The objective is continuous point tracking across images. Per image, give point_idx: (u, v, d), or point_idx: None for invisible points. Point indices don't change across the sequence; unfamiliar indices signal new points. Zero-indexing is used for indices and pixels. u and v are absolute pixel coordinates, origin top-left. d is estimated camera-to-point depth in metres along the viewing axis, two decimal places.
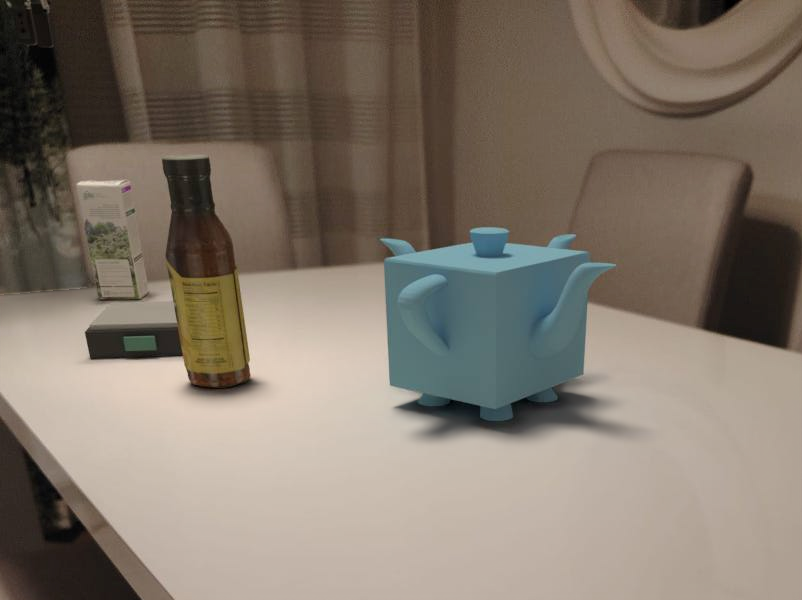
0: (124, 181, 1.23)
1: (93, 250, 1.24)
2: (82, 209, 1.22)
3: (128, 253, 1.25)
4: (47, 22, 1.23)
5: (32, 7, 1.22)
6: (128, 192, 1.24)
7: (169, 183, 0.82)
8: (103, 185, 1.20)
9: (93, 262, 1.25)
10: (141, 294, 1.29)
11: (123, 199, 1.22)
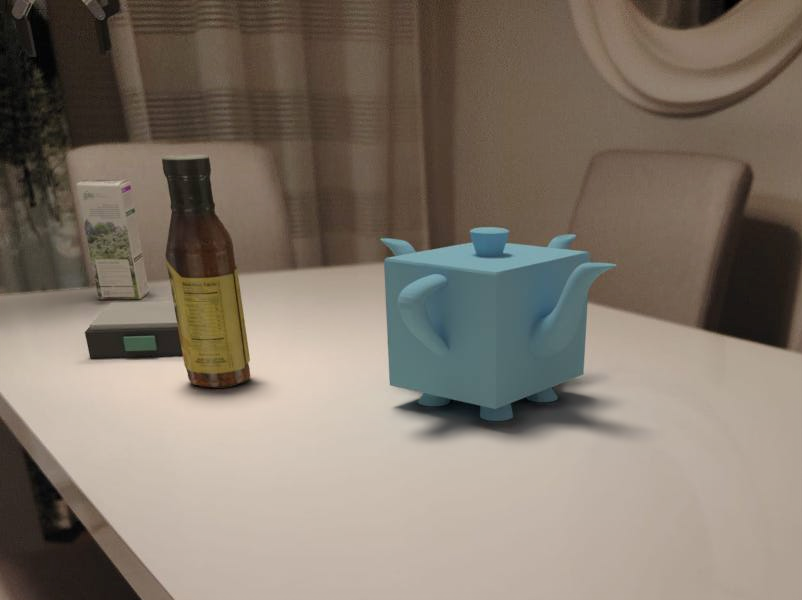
0: (124, 181, 1.23)
1: (93, 250, 1.24)
2: (82, 209, 1.22)
3: (129, 253, 1.25)
4: (96, 30, 1.16)
5: None
6: (128, 192, 1.24)
7: (169, 183, 0.82)
8: (103, 185, 1.20)
9: (93, 262, 1.25)
10: (141, 294, 1.29)
11: (123, 199, 1.22)
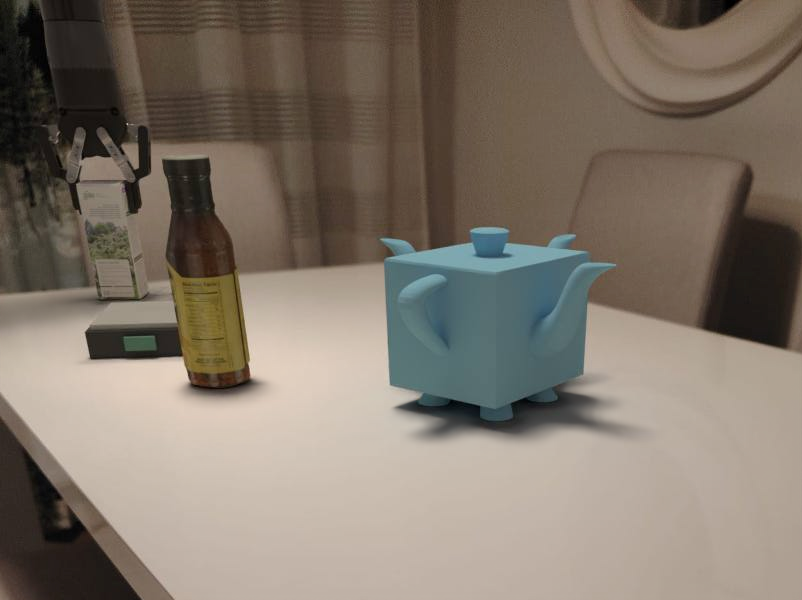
0: (124, 181, 1.23)
1: (93, 250, 1.24)
2: (82, 209, 1.22)
3: (129, 253, 1.25)
4: None
5: None
6: None
7: (169, 183, 0.82)
8: (103, 185, 1.20)
9: (93, 262, 1.25)
10: (141, 294, 1.29)
11: (123, 199, 1.22)
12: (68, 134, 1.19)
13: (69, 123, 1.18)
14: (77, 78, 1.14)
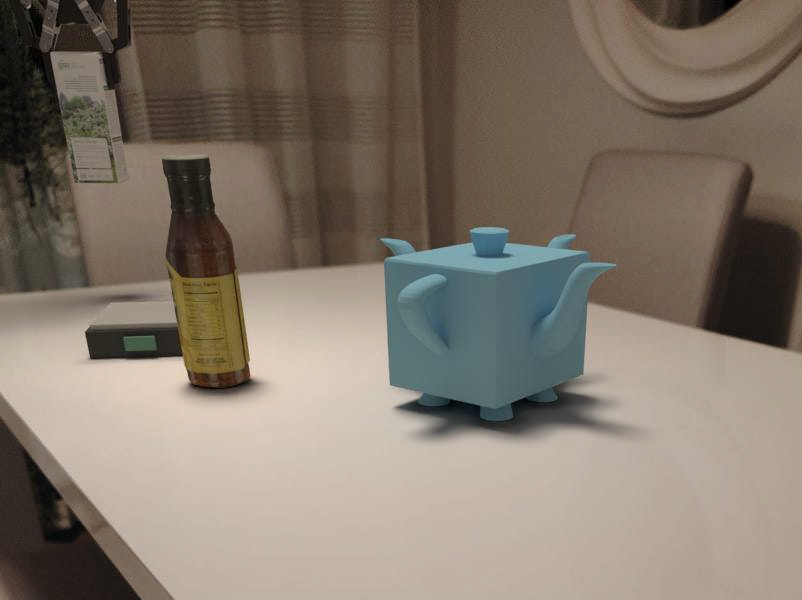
0: (102, 53, 1.15)
1: (68, 127, 1.17)
2: (57, 81, 1.14)
3: (107, 131, 1.17)
4: None
5: None
6: None
7: (169, 183, 0.82)
8: (79, 54, 1.13)
9: (69, 141, 1.17)
10: (120, 179, 1.21)
11: (100, 70, 1.14)
12: None
13: None
14: None
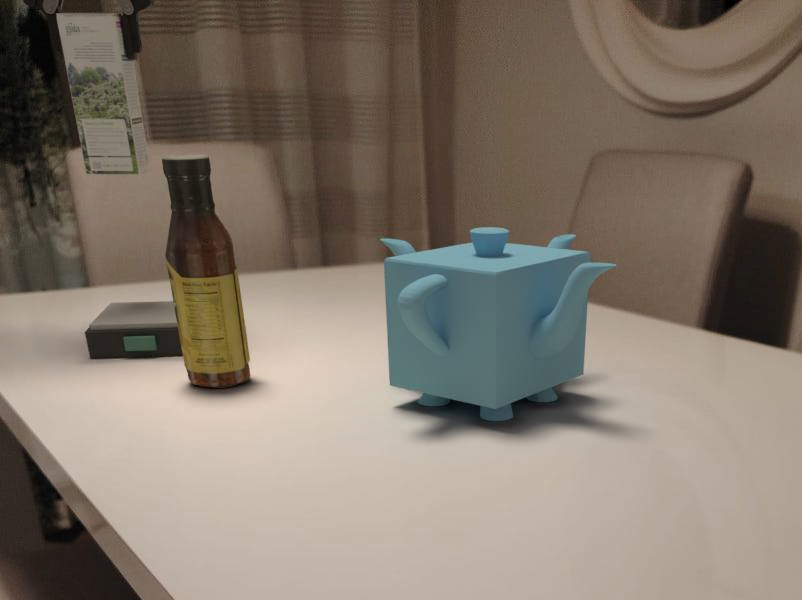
0: (119, 15, 0.95)
1: (79, 106, 0.96)
2: (64, 49, 0.93)
3: (125, 110, 0.96)
4: None
5: None
6: None
7: (169, 183, 0.82)
8: (92, 15, 0.92)
9: (79, 123, 0.97)
10: (141, 169, 1.00)
11: (118, 36, 0.93)
12: None
13: None
14: None
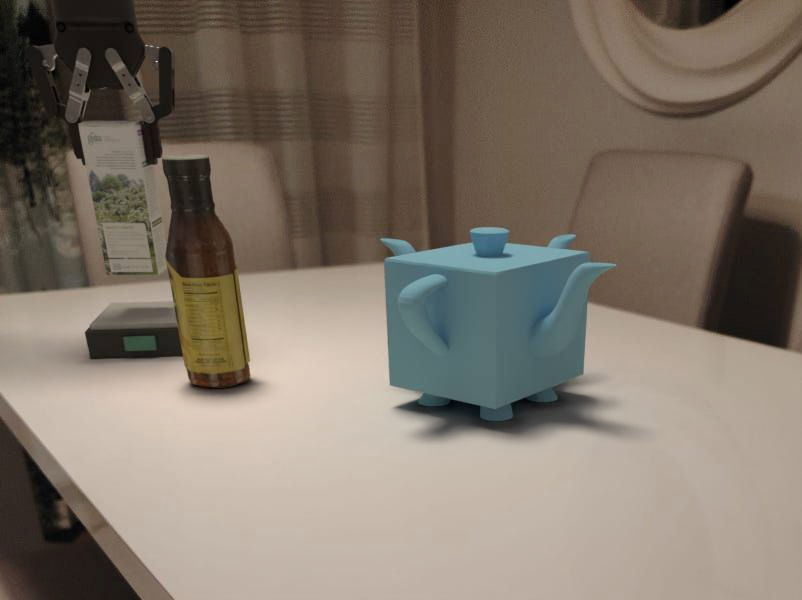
0: (140, 122, 0.95)
1: (100, 211, 0.97)
2: (86, 157, 0.94)
3: (146, 215, 0.97)
4: None
5: None
6: None
7: (169, 183, 0.82)
8: (113, 125, 0.93)
9: (100, 227, 0.97)
10: (161, 269, 1.01)
11: (139, 144, 0.94)
12: (68, 57, 0.91)
13: (69, 43, 0.90)
14: None
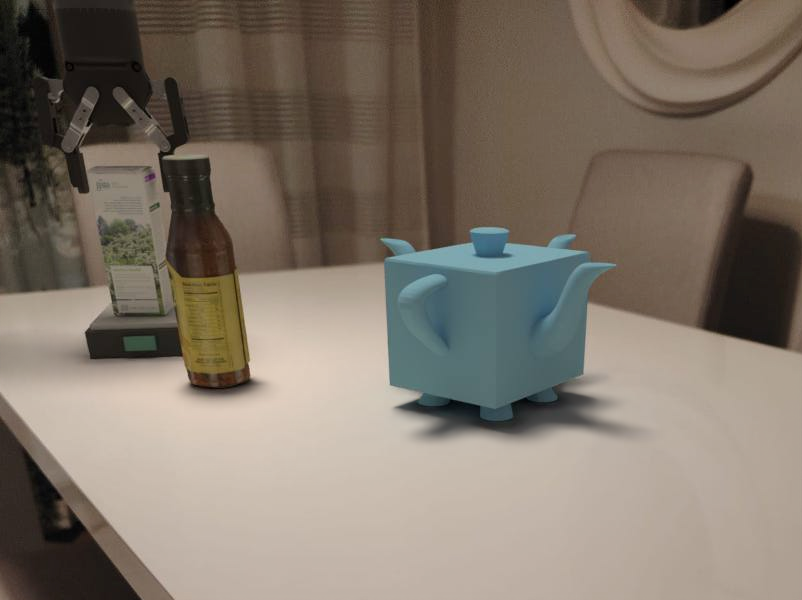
0: (147, 167, 0.98)
1: (108, 254, 0.99)
2: (95, 203, 0.96)
3: (153, 258, 0.99)
4: (159, 163, 0.97)
5: None
6: (152, 181, 0.99)
7: (169, 183, 0.82)
8: (121, 172, 0.95)
9: (108, 269, 1.00)
10: (167, 309, 1.03)
11: (146, 190, 0.96)
12: (76, 96, 0.93)
13: (78, 83, 0.92)
14: (88, 21, 0.88)
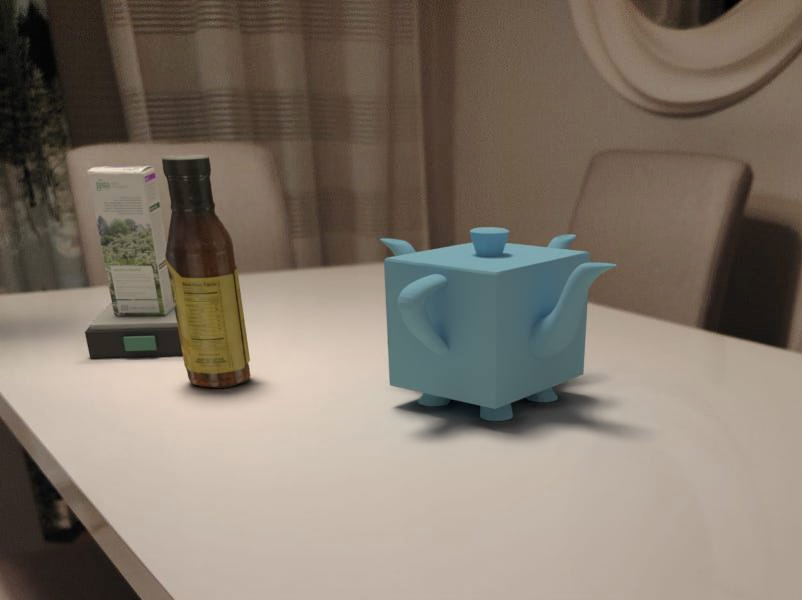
0: (147, 167, 0.98)
1: (108, 254, 0.99)
2: (95, 203, 0.96)
3: (153, 258, 0.99)
4: None
5: None
6: (152, 181, 0.99)
7: (169, 183, 0.82)
8: (121, 172, 0.95)
9: (108, 269, 1.00)
10: (167, 309, 1.03)
11: (146, 190, 0.96)
12: None
13: None
14: None
